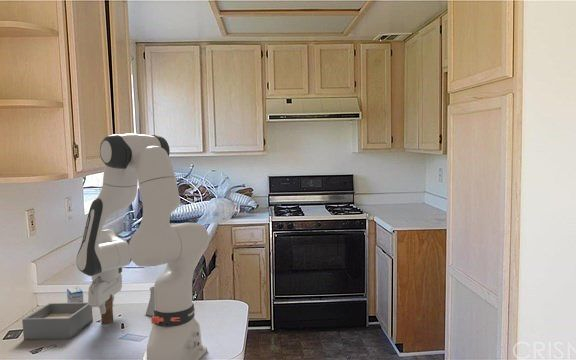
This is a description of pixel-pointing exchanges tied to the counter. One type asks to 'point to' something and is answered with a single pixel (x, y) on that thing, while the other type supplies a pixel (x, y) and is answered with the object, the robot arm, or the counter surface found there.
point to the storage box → (57, 321)
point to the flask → (151, 303)
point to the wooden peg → (108, 312)
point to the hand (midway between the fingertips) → (106, 310)
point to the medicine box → (74, 295)
